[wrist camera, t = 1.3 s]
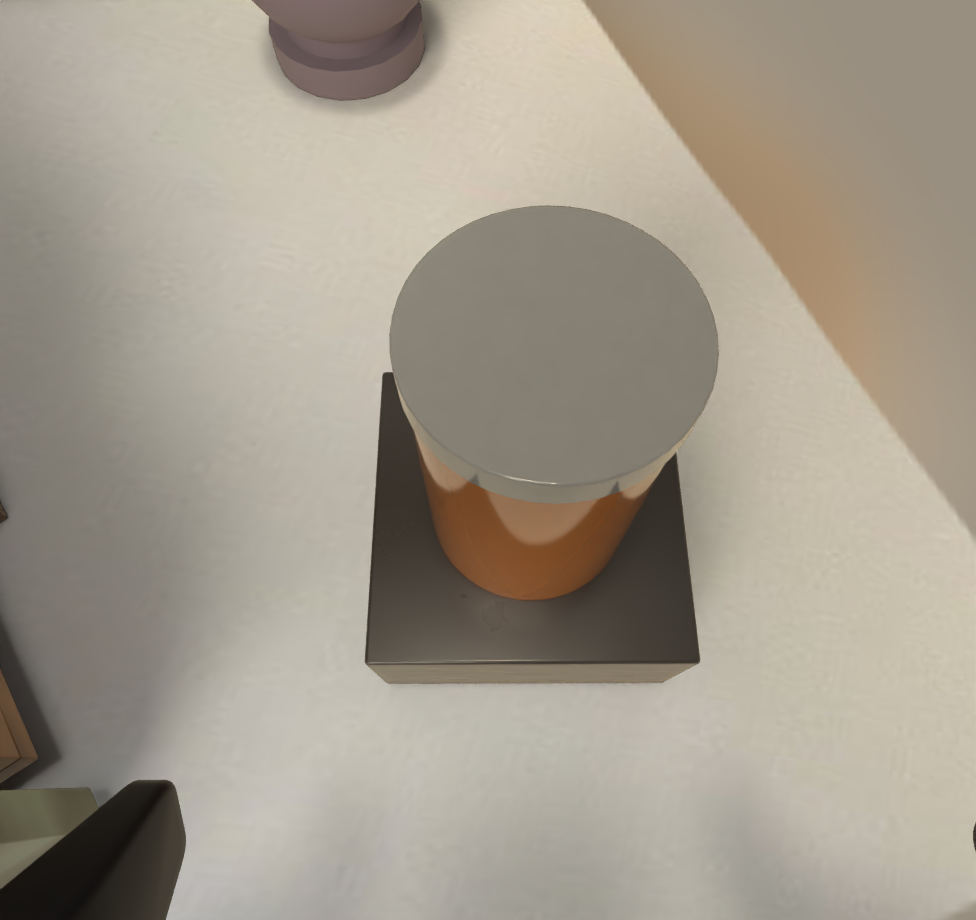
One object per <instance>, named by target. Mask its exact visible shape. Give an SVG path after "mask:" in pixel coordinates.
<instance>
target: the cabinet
mask: <svg viewBox="0 0 976 920" xmlns="http://www.w3.org/2000/svg"><path fill="white" fill-rule="evenodd" d="M6 518H7V515H6V513H5V511H4V509H3V507H2V505H1V503H0V521H2V520H4V519H6Z"/></svg>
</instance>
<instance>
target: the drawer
mask: <svg viewBox="0 0 976 920" xmlns="http://www.w3.org/2000/svg"><path fill="white" fill-rule="evenodd" d="M37 759H38V756H37V754H36V752H35V749H34V747H33V745H32V742H31V740H30V738H29V735H28V733H27V731H26V728H25V726H24V723H23V721H22V719H21V716H20V714H19V712H18V709H17V707H16V705H15V702H14V700H13V698H12V695H11V693H10V691H9V688H8V686H7V684H6V681H5V679H4V677H3V674H2V672H1V669H0V783H2V782H3V781H5V780H6V779H8V778H9V777H11V776H12V775H14V774H16V773H17V772H19V771H20V770H22V769H23V768H25V767H26V766H28V765H29V764H31V763H32V762H34V761H36V760H37ZM97 809H99V808H98V805H97V803H96V801H95V799H94V796H93V794H92V792H91V790H90V788H56V789H24V790H0V889H1V888H2V887H4V886H5V885H6V884H7V883H8V882H10V881H11V880H12V879H13V878H15V877H16V876H17V875H18V874H19V873H21V872H22V871H23V870H24V869H26V868H27V867H28V866H29V865H30V864H32V863H33V862H34V861H35V860H36V859H38V858H39V857H40V856H41V855H43V854H44V853H45V852H46V851H47V850H49V849H50V848H51V847H52V846H54V845H55V844H56V843H57V842H58V841H60V840H61V839H62V838H63V837H65V836H66V835H67V834H68V833H69V832H71V831H72V830H73V829H74V828H76V827H77V826H78V825H79V824H80V823H82V822H83V821H84V820H85V819H87V818H88V817H89V816H90V815H91V814H93V813H94V812H95V811H96V810H97Z"/></svg>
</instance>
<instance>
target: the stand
mask: <svg viewBox="0 0 976 920" xmlns="http://www.w3.org/2000/svg"><path fill="white" fill-rule="evenodd" d="M365 663H366V665H367V666H368V667H370V668H371V669H372V670H373V671H374V672H375V673H376V674H377V675H378V676H380V677H381V678H382V679H383V680H384V681H385V682H386V683H388V684H444V683H662V682H664V681H666V680H668V679H670V678H672V677H674V676H676V675H678V674H679V673H681V672H683V671H685V670H687V669H689V668H691V667H693V666H694V665H696V664H698V663H700V654H699V645H698V636H697V628H696V619H695V611H694V602H693V593H692V585H691V576H690V567H689V559H688V550H687V542H686V533H685V524H684V516H683V507H682V499H681V490H680V481H679V473H678V464H677V456H676V453H675V454H674V455H673V456H672V457H671V459H670V460H668V461H667V462H666V464H665V465H664V467H663V469H662V471H661V473H660V474H659V476H658V478H657V480H656V481H655V483H654V485H653V487H652V488H651V490H650V492H649V494H648V495H647V497H646V499H645V501H644V503H643V504H642V506H641V508H640V510H639V511H638V513H637V515H636V517H635V518H634V520H633V522H632V524H631V525H630V527H629V529H628V531H627V533H626V534H625V536H624V538H623V540H622V541H621V543H620V545H619V547H618V548H617V550H616V552H615V553H614V555H613V557H612V558H611V560H610V561H609V563H608V564H607V565H606V566H605V567H604V569H603V570H602V571H601V572H600V573H599V574H598V575H597V576H596V577H594V578H593V579H592V580H591V581H589V582H588V583H586V584H585V585H583V586H582V587H580V588H578V589H576V590H574V591H572V592H570V593H567V594H565V595H562V596H559V597H555V598H549V599H544V600H517V599H512V598H507V597H503V596H500V595H497V594H494V593H491V592H489V591H487V590H485V589H483V588H481V587H479V586H478V585H476V584H475V583H473V582H472V581H470V580H469V579H467V578H466V577H465V576H464V575H463V574H462V573H461V572H459V571H458V569H457V568H456V567H455V566H454V565H453V564H452V563H451V561H450V560H449V558H448V557H447V555H446V554H445V552H444V551H443V549H442V547H441V545H440V543H439V541H438V538H437V535H436V532H435V529H434V525H433V520H432V516H431V511H430V507H429V502H428V498H427V493H426V489H425V484H424V480H423V475H422V471H421V466H420V462H419V457H418V453H417V448H416V444H415V439H414V435H413V430H412V426H411V424H410V422H409V420H408V418H407V416H406V414H405V412H404V410H403V407H402V404H401V401H400V398H399V395H398V391H397V387H396V383H395V379H394V374H393V372H385V373H383V376H382V391H381V408H380V424H379V440H378V456H377V472H376V489H375V505H374V521H373V537H372V553H371V570H370V586H369V602H368V618H367V634H366V651H365Z"/></svg>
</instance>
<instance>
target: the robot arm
mask: <svg viewBox="0 0 976 920" xmlns="http://www.w3.org/2000/svg"><path fill="white" fill-rule="evenodd" d="M973 842H974V847H975V851H976V823H975V826H974V830H973ZM185 846H186V834H185V828H184V824H183V819H182V814H181V810H180V805H179V800H178V796H177V791H176V788H175V786H174V784H173V783H172V782H171V781H168V780H137V781H134V782H132V783H130V784H128V785H127V786H126V787H124V788H123V789H122V790H121V791H119V792H118V793H117V794H116V795H115V796H113V797H112V798H111V799H110V800H108V801H107V802H106V803H105V804H104V805H102V806H101V807H100V808H99V809H97V810H96V811H95V812H94V813H93V814H91V815H90V816H89V817H88V818H87V819H85V820H84V821H83V822H82V823H80V824H79V825H78V826H77V827H76V828H74V829H73V830H72V831H71V832H69V833H68V834H67V835H66V836H65V837H63V838H62V839H61V840H60V841H58V842H57V843H56V844H55V845H54V846H52V847H51V848H50V849H49V850H47V851H46V852H45V853H44V854H43V855H41V856H40V857H39V858H38V859H36V860H35V861H34V862H33V863H32V864H30V865H29V866H28V867H27V868H26V869H24V870H23V871H22V872H21V873H19V874H18V875H17V876H16V877H15V878H13V879H12V880H11V881H10V882H8V883H7V884H6V885H5V886H4V887H2V888H1V889H0V920H166V917H167V913H168V910H169V906H170V903H171V899H172V896H173V893H174V889H175V886H176V882H177V879H178V875H179V872H180V868H181V865H182V861H183V858H184V853H185Z"/></svg>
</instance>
